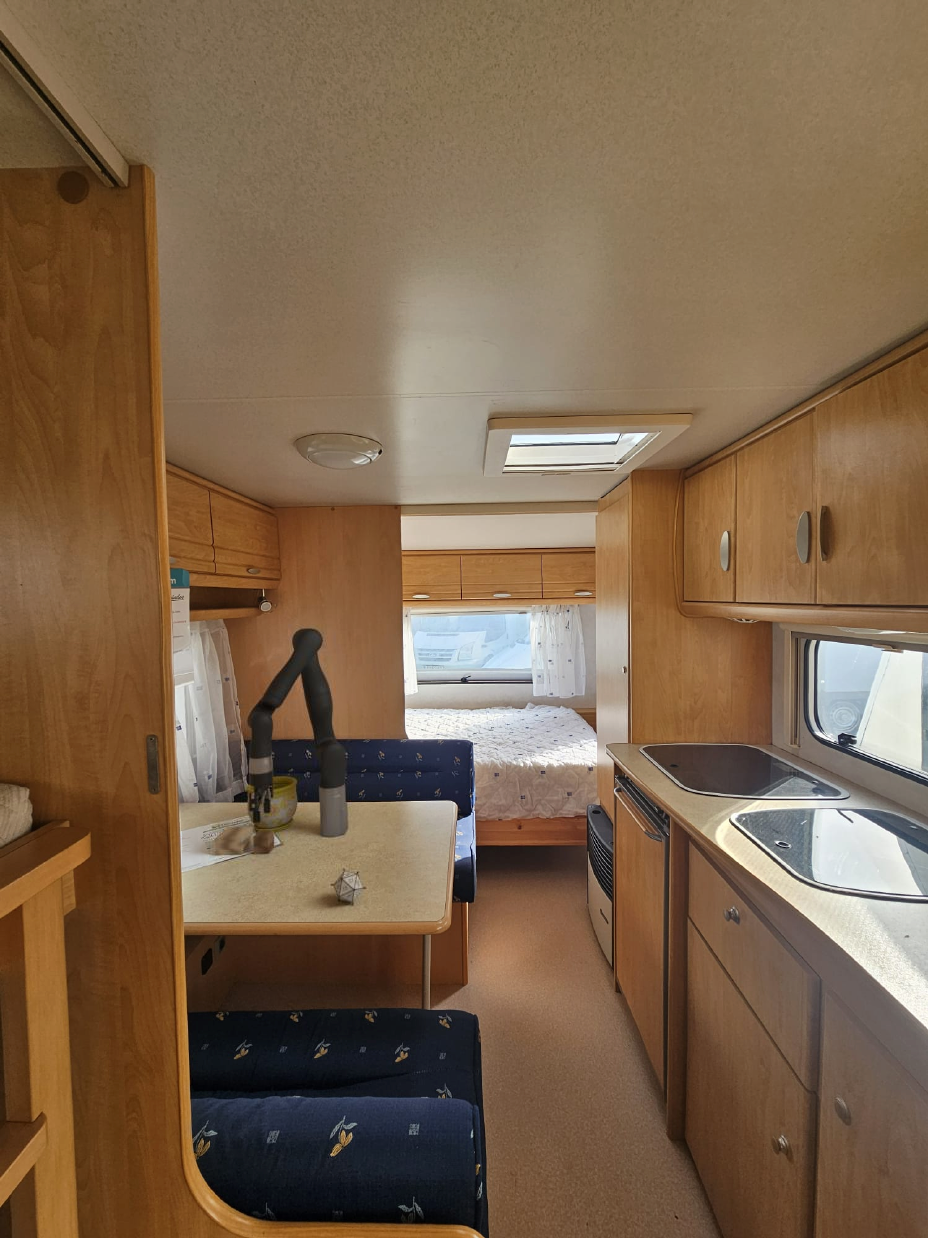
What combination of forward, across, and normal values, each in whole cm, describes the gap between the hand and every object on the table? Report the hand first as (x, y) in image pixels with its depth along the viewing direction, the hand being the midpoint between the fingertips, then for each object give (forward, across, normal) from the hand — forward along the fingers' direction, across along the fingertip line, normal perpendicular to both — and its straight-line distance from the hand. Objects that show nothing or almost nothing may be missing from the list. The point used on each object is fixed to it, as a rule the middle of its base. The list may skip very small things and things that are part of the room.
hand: (262, 817), depth 177 cm
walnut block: (+12, 0, 0) cm, 12 cm away
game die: (+11, -33, -37) cm, 51 cm away
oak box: (+12, +2, +11) cm, 16 cm away
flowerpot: (+12, +21, +5) cm, 25 cm away
